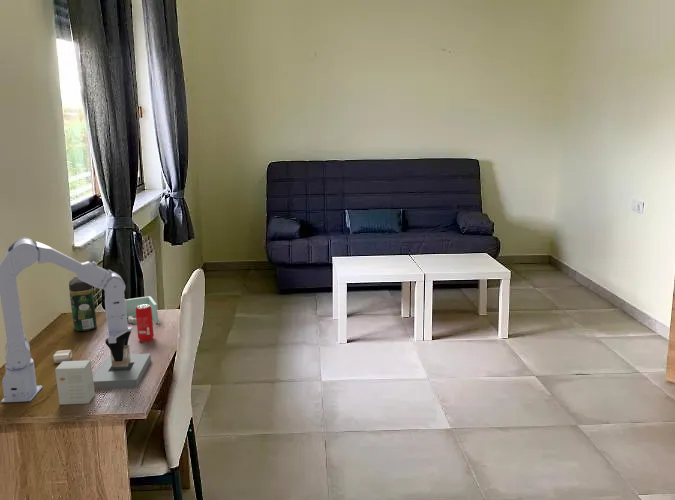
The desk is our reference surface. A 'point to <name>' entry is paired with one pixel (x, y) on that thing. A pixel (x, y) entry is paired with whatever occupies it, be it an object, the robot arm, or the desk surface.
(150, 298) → the l-shaped corner panel
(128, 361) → the cream square block
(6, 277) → the robot arm
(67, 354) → the short peg
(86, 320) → the coffee jar
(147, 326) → the beverage can
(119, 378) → the hole board
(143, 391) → the desk surface
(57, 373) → the small box
